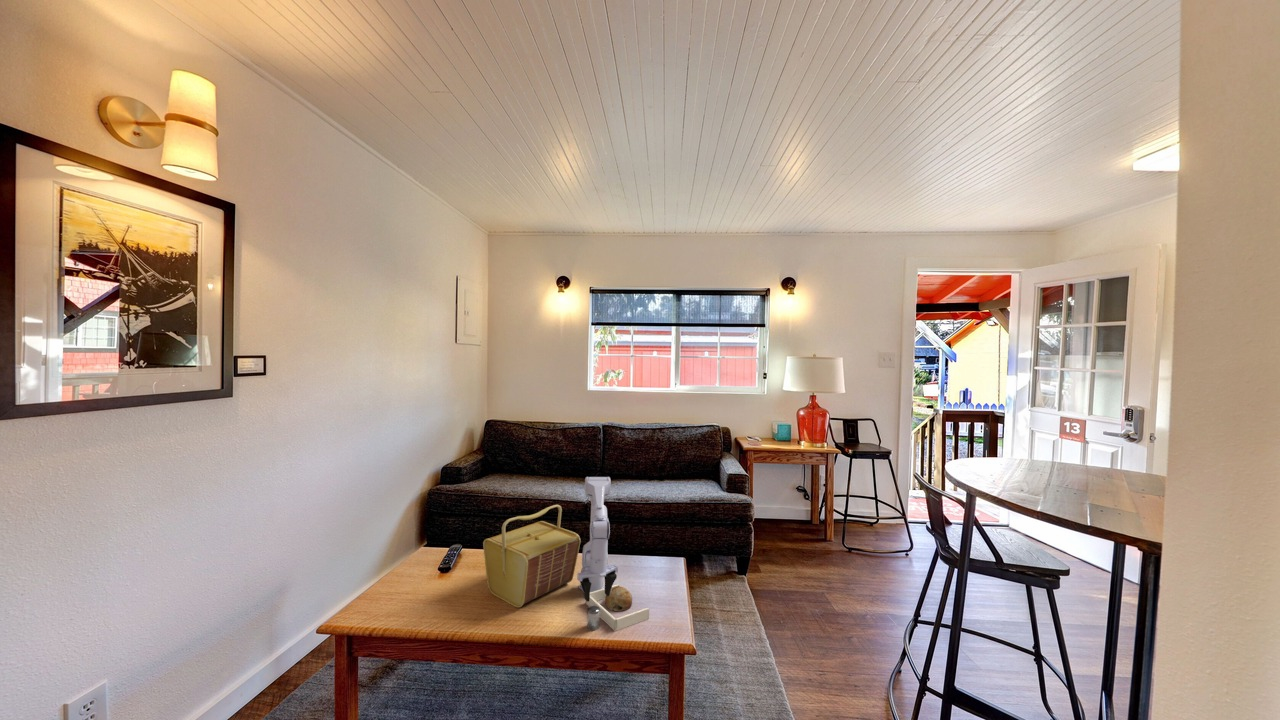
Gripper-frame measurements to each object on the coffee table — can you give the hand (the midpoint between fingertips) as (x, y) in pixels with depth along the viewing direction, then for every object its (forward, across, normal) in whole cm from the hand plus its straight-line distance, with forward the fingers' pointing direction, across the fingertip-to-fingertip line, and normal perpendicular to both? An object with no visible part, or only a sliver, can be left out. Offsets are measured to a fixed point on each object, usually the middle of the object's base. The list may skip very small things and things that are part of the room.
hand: (597, 597), depth 153 cm
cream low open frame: (+10, +10, +4) cm, 15 cm away
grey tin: (+10, -1, 0) cm, 10 cm away
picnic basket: (+10, -11, +34) cm, 37 cm away
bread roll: (+10, +13, +8) cm, 19 cm away
